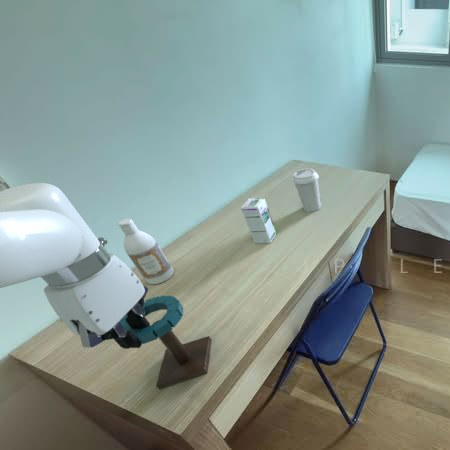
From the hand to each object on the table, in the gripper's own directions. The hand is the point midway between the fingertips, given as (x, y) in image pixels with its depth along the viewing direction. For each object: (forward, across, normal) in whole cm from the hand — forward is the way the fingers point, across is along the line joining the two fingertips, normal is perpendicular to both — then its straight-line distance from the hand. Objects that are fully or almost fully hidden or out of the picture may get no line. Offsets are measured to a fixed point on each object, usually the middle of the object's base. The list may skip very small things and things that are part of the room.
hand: (139, 338), depth 57 cm
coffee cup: (+15, -70, +10) cm, 72 cm away
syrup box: (+15, -50, -1) cm, 52 cm away
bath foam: (+15, -31, -25) cm, 43 cm away
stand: (+15, -4, 0) cm, 15 cm away
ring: (0, -4, 0) cm, 4 cm away
